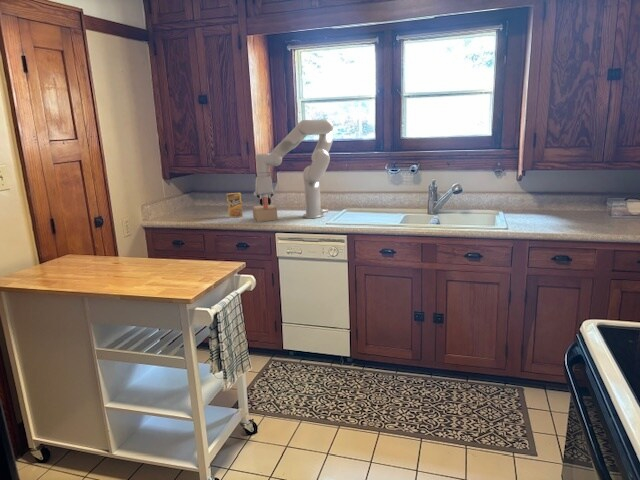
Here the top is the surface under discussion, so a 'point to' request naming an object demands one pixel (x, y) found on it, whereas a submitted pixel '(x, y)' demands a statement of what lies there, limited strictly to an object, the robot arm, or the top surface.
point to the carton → (264, 215)
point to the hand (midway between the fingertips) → (265, 204)
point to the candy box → (234, 205)
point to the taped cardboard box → (264, 205)
